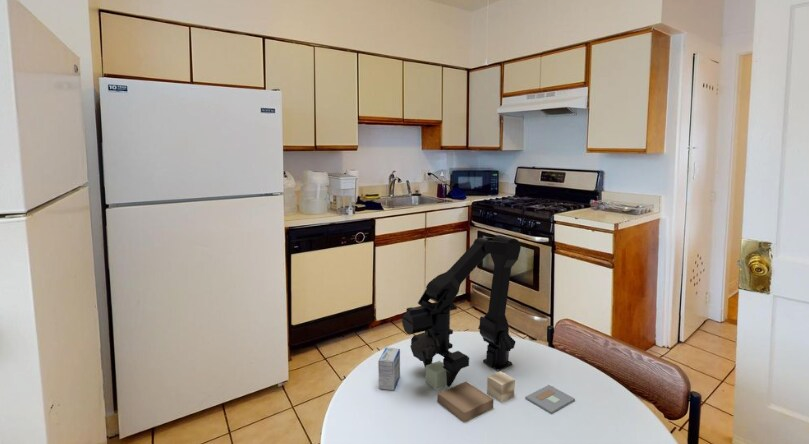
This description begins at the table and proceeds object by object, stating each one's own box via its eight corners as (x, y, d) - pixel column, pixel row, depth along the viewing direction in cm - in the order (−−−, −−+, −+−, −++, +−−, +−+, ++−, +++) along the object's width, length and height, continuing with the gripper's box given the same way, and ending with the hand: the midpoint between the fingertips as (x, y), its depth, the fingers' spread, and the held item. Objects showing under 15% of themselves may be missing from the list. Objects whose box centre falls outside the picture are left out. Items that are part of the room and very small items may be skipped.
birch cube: (499, 387, 116) (500, 371, 115) (513, 396, 112) (514, 379, 111) (486, 393, 113) (487, 376, 112) (501, 402, 109) (501, 385, 108)
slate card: (548, 386, 117) (548, 384, 116) (574, 400, 110) (575, 398, 110) (525, 398, 111) (525, 396, 111) (551, 414, 104) (551, 411, 104)
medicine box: (394, 391, 114) (394, 361, 113) (378, 389, 115) (378, 359, 114) (400, 376, 122) (400, 348, 120) (385, 374, 123) (385, 346, 121)
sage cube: (439, 376, 122) (439, 360, 121) (450, 384, 118) (451, 367, 117) (425, 382, 119) (425, 365, 118) (436, 390, 115) (437, 373, 114)
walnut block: (465, 391, 115) (466, 381, 114) (493, 409, 107) (493, 399, 106) (437, 403, 109) (437, 393, 109) (463, 424, 101) (464, 413, 101)
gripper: (395, 321, 118) (395, 373, 121) (438, 346, 103) (437, 404, 106) (427, 313, 125) (426, 362, 127) (471, 335, 110) (469, 390, 112)
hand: (438, 378), depth 118 cm, fingers open, 9 cm apart
